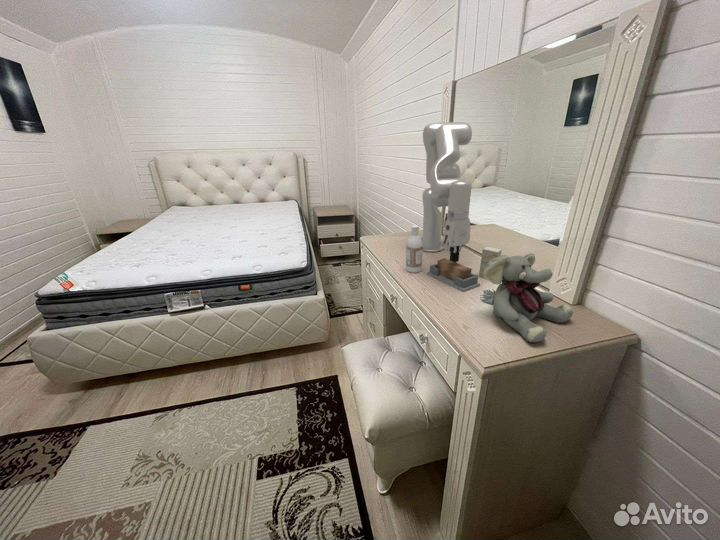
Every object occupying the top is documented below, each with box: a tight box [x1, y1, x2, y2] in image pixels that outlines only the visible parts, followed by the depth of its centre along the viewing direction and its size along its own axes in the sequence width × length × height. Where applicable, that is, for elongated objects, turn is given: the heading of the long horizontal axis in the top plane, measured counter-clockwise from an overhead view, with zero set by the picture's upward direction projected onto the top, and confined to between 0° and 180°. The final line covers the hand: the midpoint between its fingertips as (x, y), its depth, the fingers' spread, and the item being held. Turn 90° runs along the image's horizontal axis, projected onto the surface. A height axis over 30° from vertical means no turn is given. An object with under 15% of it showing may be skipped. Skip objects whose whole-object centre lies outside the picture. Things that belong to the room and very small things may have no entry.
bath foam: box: [405, 225, 424, 273], centre depth 127 cm, size 7×7×20 cm
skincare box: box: [478, 246, 503, 279], centre depth 119 cm, size 6×4×12 cm
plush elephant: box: [479, 252, 574, 344], centre depth 90 cm, size 27×22×21 cm
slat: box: [436, 257, 472, 281], centre depth 118 cm, size 14×4×6 cm, turn 30°
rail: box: [426, 263, 481, 293], centre depth 119 cm, size 20×9×4 cm, turn 30°
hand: (454, 261), depth 117 cm, fingers closed
